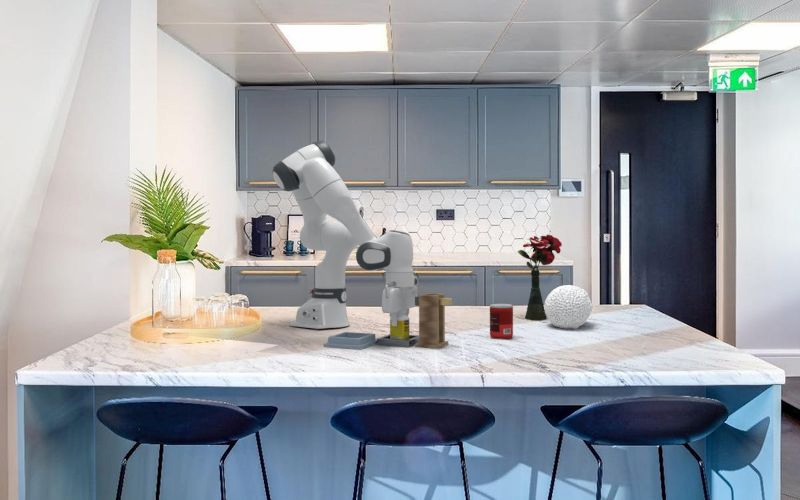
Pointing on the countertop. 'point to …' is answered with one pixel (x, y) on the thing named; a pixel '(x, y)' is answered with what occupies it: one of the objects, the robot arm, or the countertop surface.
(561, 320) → the white textured ball
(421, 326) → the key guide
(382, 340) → the socket
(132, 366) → the countertop surface
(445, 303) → the bar
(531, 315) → the carnation
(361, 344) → the tray
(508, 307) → the canned food
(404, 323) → the pill bottle
